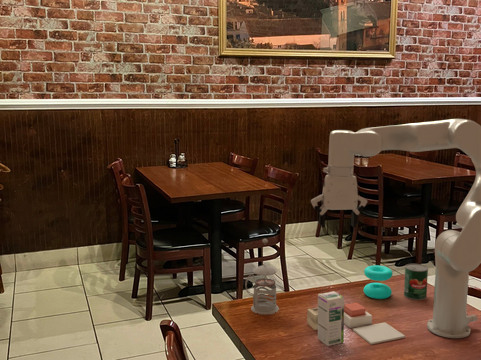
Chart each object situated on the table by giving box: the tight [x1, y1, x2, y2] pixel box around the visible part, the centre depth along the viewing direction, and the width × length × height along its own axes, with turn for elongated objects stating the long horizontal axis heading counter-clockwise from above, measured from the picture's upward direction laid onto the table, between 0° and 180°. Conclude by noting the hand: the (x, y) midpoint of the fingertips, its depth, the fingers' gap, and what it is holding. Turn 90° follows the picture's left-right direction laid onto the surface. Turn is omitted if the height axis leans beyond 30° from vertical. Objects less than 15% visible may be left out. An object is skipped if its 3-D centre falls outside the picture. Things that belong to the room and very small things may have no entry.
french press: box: [244, 238, 280, 316], centre depth 179 cm, size 10×12×25 cm
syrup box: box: [317, 291, 345, 347], centre depth 156 cm, size 6×6×14 cm
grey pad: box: [352, 322, 406, 345], centre depth 161 cm, size 12×10×1 cm
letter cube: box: [306, 307, 318, 331], centre depth 167 cm, size 5×5×5 cm
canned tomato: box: [403, 263, 429, 301], centre depth 190 cm, size 8×8×11 cm
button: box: [344, 302, 367, 317], centre depth 170 cm, size 5×5×3 cm
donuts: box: [363, 264, 393, 300], centre depth 191 cm, size 10×10×10 cm
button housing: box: [344, 310, 373, 329], centre depth 170 cm, size 8×8×3 cm
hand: (337, 226), depth 160 cm, fingers open, 9 cm apart
